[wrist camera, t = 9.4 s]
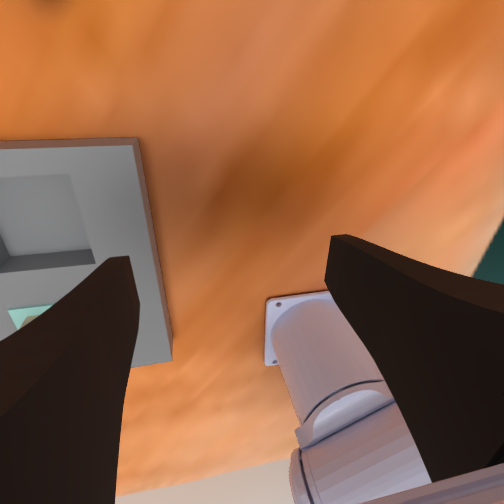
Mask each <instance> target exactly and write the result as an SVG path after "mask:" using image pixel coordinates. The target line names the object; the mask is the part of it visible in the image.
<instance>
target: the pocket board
mask: <svg viewBox="0 0 504 504" xmlns="http://www.w3.org/2000/svg"><path fill="white" fill-rule="evenodd" d="M128 255H129V257H130V261H131V266H132V270H133V274H134V279H135V283H136V287H137V292H138V296H139V300H140V318H139V330H138V335H137V340H136V345H135V350H134V354H133V359H132V364H131V368H133V367H139V366H145V365H151V364H157V363H164V362H170V361H172V346H173V337H172V331H171V325H170V319H169V314H168V308H167V302H166V296H165V291H164V285H163V279H162V273H161V268H160V262H159V256H158V250H157V245H156V239H155V233H154V227H153V222H152V216H151V210H150V204H149V199H148V193H147V187H146V181H145V176H144V170H143V164H142V158H141V153H140V147H139V141H138V137H125V138H90V139H54V140H19V141H0V341H1V340H3V339H5V338H6V337H8V336H9V335H11V334H13V333H14V332H16V331H17V330H19V328H20V326H21V325H22V323H23V322H24V320H25V319H26V317H27V316H35V315H41V314H42V313H43V312H45V311H46V310H47V309H48V308H50V307H51V306H52V305H54V304H55V303H56V302H57V301H59V300H60V299H61V298H62V297H64V296H65V295H66V294H67V293H69V292H70V291H71V290H72V289H73V288H75V287H76V286H77V285H78V284H79V283H80V282H82V281H83V280H84V279H85V278H86V277H87V276H88V275H89V274H91V273H92V272H93V271H94V270H95V269H96V268H97V267H98V266H100V265H101V264H102V263H103V262H104V261H105V260H107V259H108V258H109V257H117V256H128Z"/></svg>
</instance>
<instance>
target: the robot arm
mask: <svg viewBox="0 0 504 504" xmlns="http://www.w3.org/2000/svg"><path fill="white" fill-rule="evenodd" d="M324 281H325V283H326V285H327V288H328V290H329V291H323V292H316V293H308V294H301V295H293V296H286V297H278V298H271V299H269V300H268V301H267V302H266V319H265V346H264V363H265V365H266V366H272V365H278V364H279V366H280V369H281V372H282V375H283V378H284V381H285V383H286V386H287V389H288V392H289V395H290V397H291V400H292V403H293V406H294V409H295V412H296V414H297V417H298V420H299V423H300V427H299V428H297V429H295V434H296V437H297V440H298V443H299V446H300V447H299V448H297V449H294V450H293V452H292V454H291V462H290V466H289V479H290V486H291V491H292V495H293V499H294V503H295V504H504V285H502V284H498V283H493V282H489V281H484V280H480V279H476V278H472V277H468V276H464V275H460V274H457V273H453V272H450V271H446V270H443V269H440V268H437V267H433V266H430V265H428V264H425V263H422V262H419V261H416V260H413V259H411V258H408V257H405V256H403V255H400V254H398V253H395V252H393V251H390V250H388V249H385V248H383V247H380V246H378V245H375V244H373V243H370V242H368V241H365V240H363V239H360V238H357V237H354V236H351V235H347V234H344V235H334V236H331V240H330V247H329V254H328V260H327V267H326V273H325V280H324ZM278 302H280V303H279V304H276V303H278ZM139 318H140V300H139V296H138V292H137V287H136V283H135V279H134V274H133V270H132V266H131V261H130V257H129V255H128V256H117V257H109V258H108V259H107V260H105V261H104V262H103V263H102V264H101V265H100V266H98V267H97V268H96V269H95V270H94V271H93V272H92V273H91V274H89V275H88V276H87V277H86V278H85V279H84V280H83V281H82V282H80V283H79V284H78V285H77V286H76V287H75V288H73V289H72V290H71V291H70V292H69V293H67V294H66V295H65V296H64V297H62V298H61V299H60V300H59V301H57V302H56V303H55V304H54V305H52V306H51V307H50V308H48V309H47V310H46V311H45V312H43V313H42V314H41V315H39V316H38V317H36V318H35V319H33V320H32V321H31V322H29V323H28V324H26V325H25V326H23V327H22V328H20V329H19V330H17V331H16V332H14V333H13V334H11V335H9V336H8V337H6V338H5V339H3V340H1V341H0V504H115V492H116V478H117V466H118V454H119V443H120V432H121V423H122V413H123V404H124V398H125V392H126V387H127V382H128V378H129V373H130V368H131V364H132V359H133V354H134V350H135V345H136V340H137V335H138V330H139Z"/></svg>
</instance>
